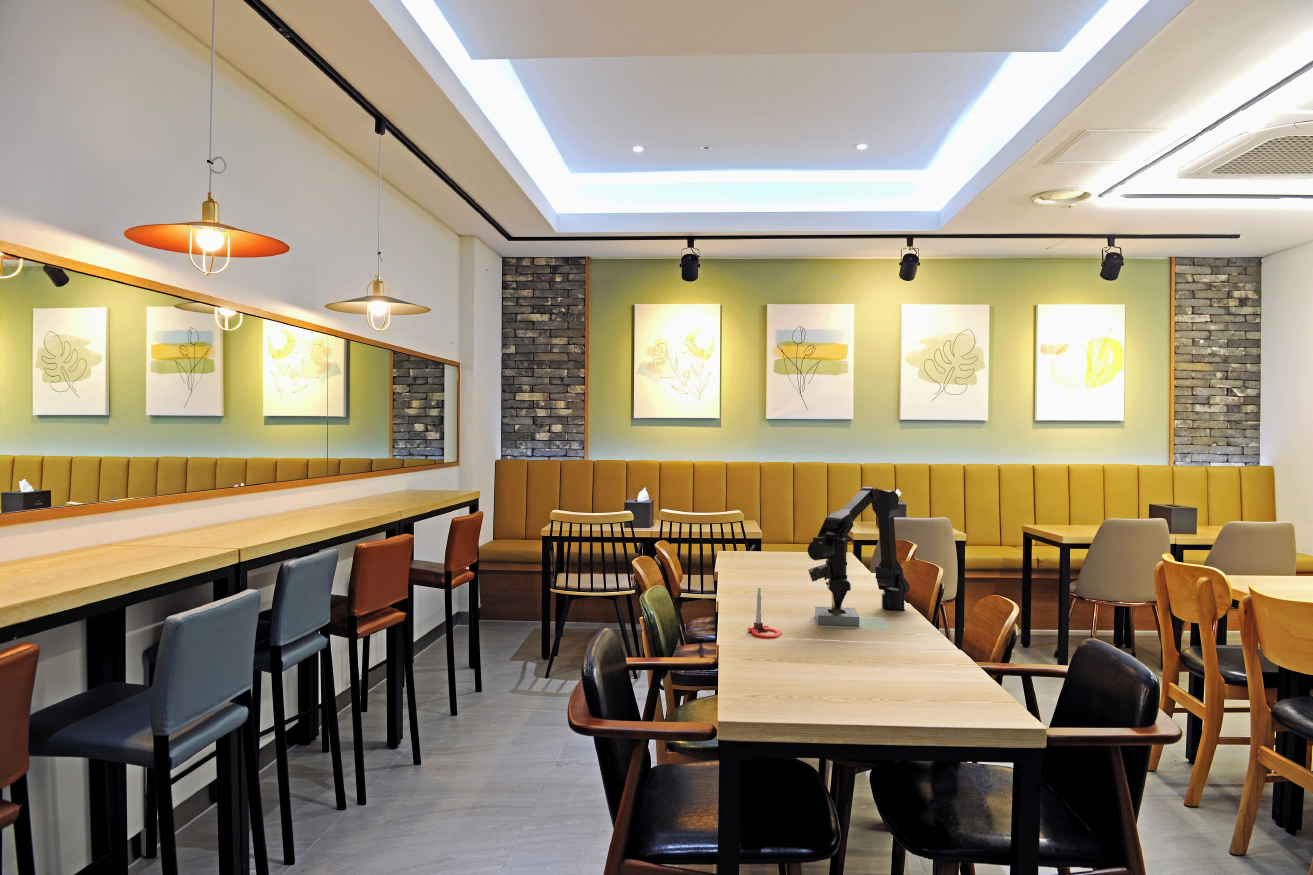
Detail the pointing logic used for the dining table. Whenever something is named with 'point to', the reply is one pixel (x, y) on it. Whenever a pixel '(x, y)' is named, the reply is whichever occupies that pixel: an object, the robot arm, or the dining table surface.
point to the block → (836, 617)
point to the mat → (868, 623)
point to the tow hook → (759, 625)
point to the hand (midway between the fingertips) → (836, 608)
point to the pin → (834, 607)
